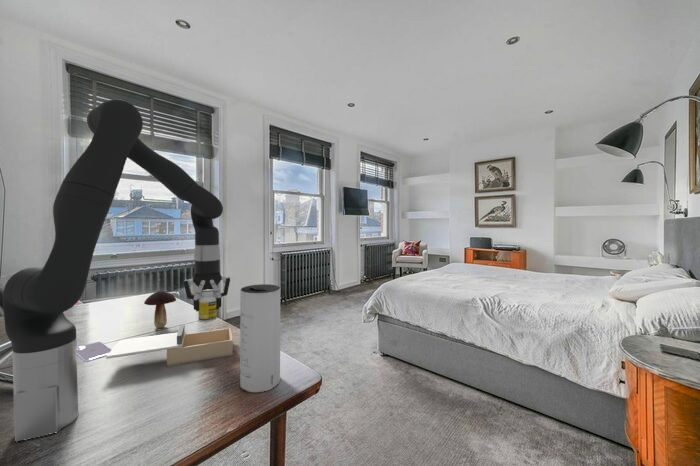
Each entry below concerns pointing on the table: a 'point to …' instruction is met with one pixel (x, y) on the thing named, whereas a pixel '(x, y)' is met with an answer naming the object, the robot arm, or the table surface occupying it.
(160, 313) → the decorative mushroom
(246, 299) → the speaker
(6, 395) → the table surface
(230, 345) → the light wooden open box
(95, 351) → the mobile phone
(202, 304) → the supplement bottle
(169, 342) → the mailer lid
